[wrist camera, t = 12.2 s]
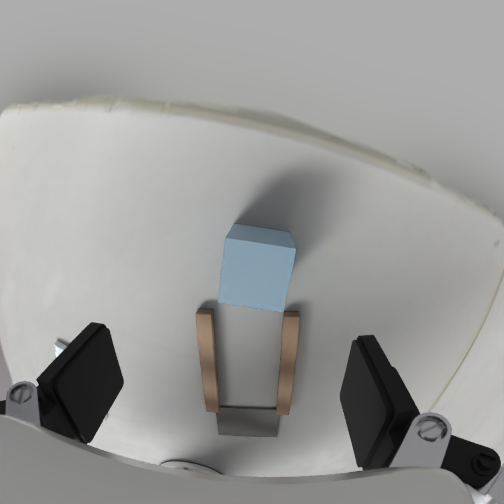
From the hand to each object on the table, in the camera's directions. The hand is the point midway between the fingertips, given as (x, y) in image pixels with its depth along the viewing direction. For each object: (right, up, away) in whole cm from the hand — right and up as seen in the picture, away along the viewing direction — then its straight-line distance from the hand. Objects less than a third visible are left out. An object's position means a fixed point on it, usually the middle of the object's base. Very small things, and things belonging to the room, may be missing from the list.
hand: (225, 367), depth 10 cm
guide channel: (0, -11, +21) cm, 24 cm away
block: (+1, +4, +17) cm, 17 cm away
